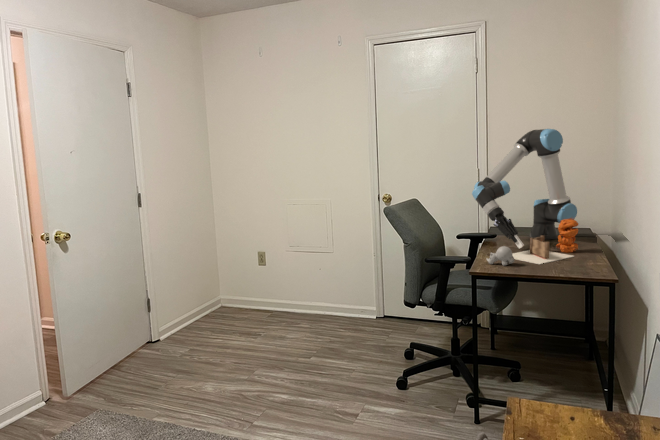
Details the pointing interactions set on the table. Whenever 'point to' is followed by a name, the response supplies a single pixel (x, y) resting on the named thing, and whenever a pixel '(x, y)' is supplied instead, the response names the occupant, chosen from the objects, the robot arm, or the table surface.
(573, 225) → the toy dinosaur
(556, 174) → the robot arm
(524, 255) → the card
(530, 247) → the fence fixed
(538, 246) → the fence gate
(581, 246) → the table surface
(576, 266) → the table surface
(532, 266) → the table surface
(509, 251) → the toy rhinoceros
